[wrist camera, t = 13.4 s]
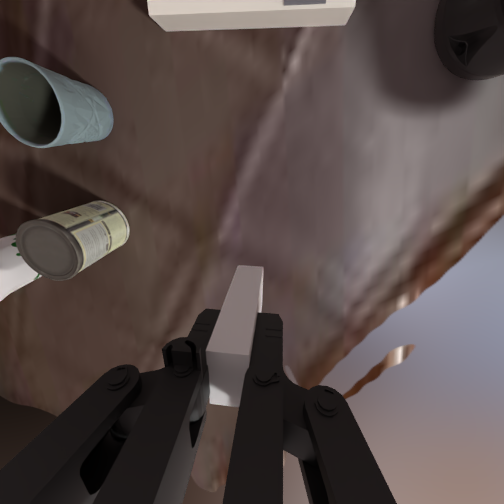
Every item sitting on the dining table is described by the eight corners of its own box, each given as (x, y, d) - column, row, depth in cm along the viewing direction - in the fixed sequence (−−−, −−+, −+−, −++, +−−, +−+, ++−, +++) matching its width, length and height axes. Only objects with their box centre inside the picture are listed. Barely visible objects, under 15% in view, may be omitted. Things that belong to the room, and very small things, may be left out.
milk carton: (33, 221, 53) (-100, 262, 34) (73, 229, 52) (-40, 274, 34) (41, 257, 56) (-74, 312, 38) (79, 265, 56) (-20, 323, 38)
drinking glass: (79, 64, 40) (1, 34, 29) (129, 113, 42) (75, 103, 31) (54, 116, 43) (-23, 107, 33) (101, 159, 46) (44, 163, 35)
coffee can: (95, 250, 54) (37, 284, 41) (74, 204, 50) (1, 225, 37) (137, 244, 52) (89, 277, 39) (118, 196, 48) (58, 215, 35)
